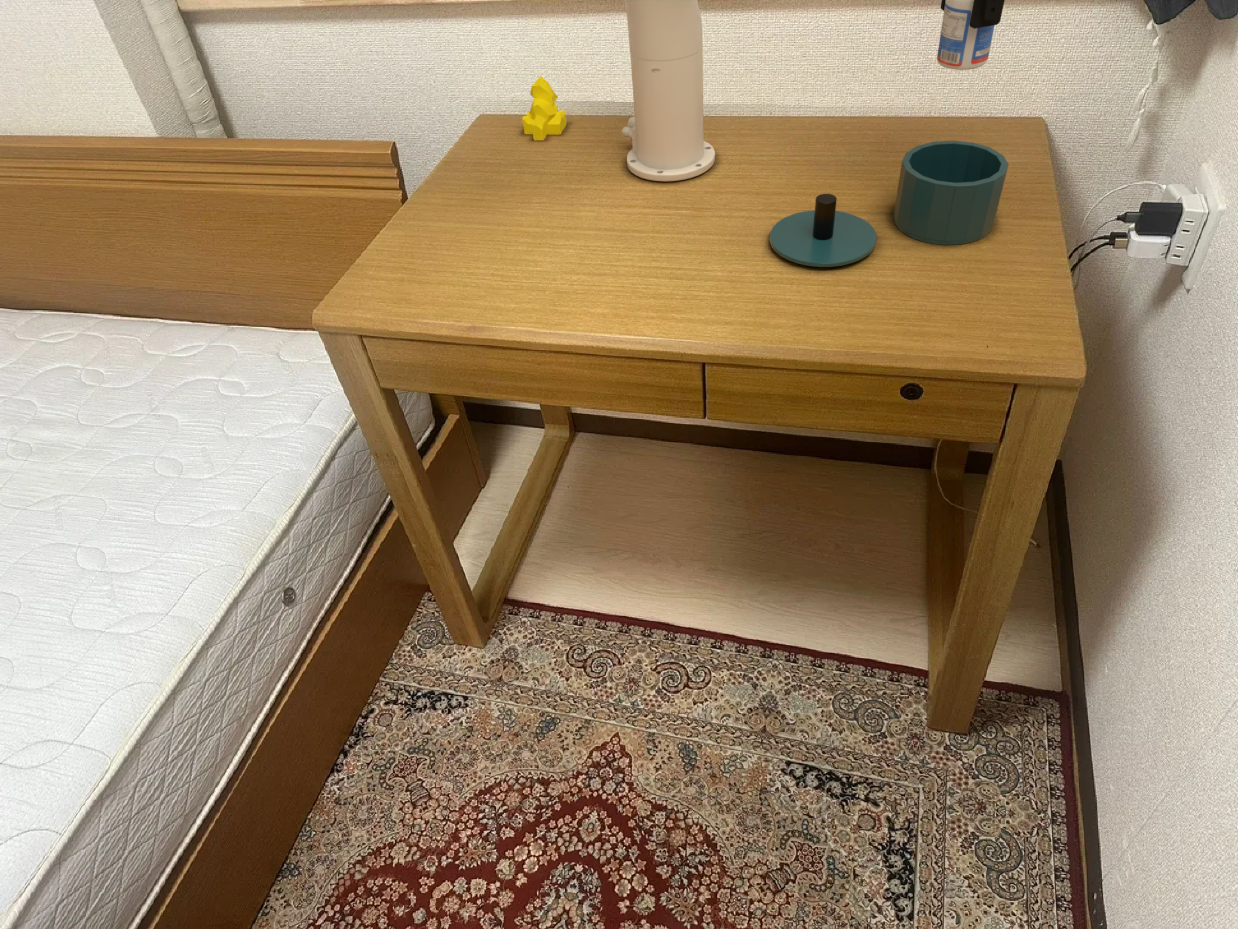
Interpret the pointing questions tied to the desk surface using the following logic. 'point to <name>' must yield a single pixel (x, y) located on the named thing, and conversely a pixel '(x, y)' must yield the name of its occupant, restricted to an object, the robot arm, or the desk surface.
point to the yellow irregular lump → (543, 112)
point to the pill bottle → (962, 38)
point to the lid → (823, 236)
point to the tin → (949, 192)
